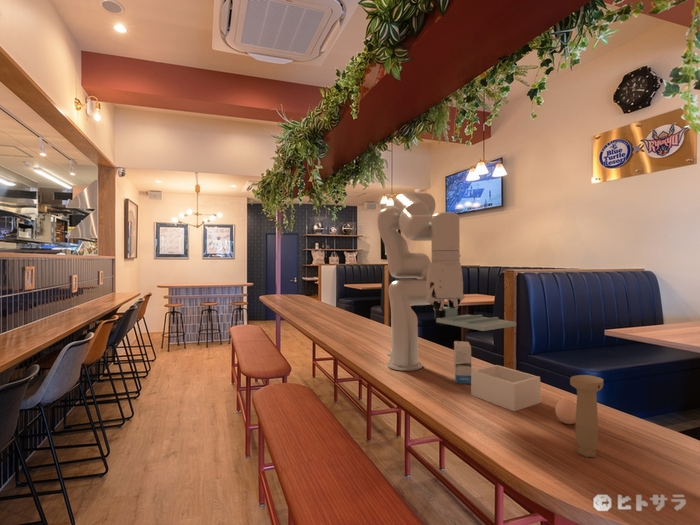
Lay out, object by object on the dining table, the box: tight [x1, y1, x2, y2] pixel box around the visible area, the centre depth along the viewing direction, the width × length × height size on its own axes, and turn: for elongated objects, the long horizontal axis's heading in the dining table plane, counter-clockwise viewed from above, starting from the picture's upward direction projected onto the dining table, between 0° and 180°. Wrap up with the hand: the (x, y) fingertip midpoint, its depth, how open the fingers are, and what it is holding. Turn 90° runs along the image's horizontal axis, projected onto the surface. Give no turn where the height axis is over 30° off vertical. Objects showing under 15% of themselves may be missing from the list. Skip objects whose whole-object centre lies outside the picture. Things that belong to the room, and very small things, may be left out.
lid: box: [436, 306, 517, 332], centre depth 99 cm, size 20×12×3 cm, turn 31°
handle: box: [569, 374, 604, 458], centre depth 76 cm, size 5×6×15 cm
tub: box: [470, 364, 541, 412], centre depth 106 cm, size 14×11×7 cm
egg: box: [555, 397, 577, 425], centre depth 90 cm, size 5×5×6 cm
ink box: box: [453, 340, 473, 385], centre depth 123 cm, size 9×5×12 cm, turn 168°
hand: (445, 323), depth 106 cm, fingers closed on lid, 3 cm apart
